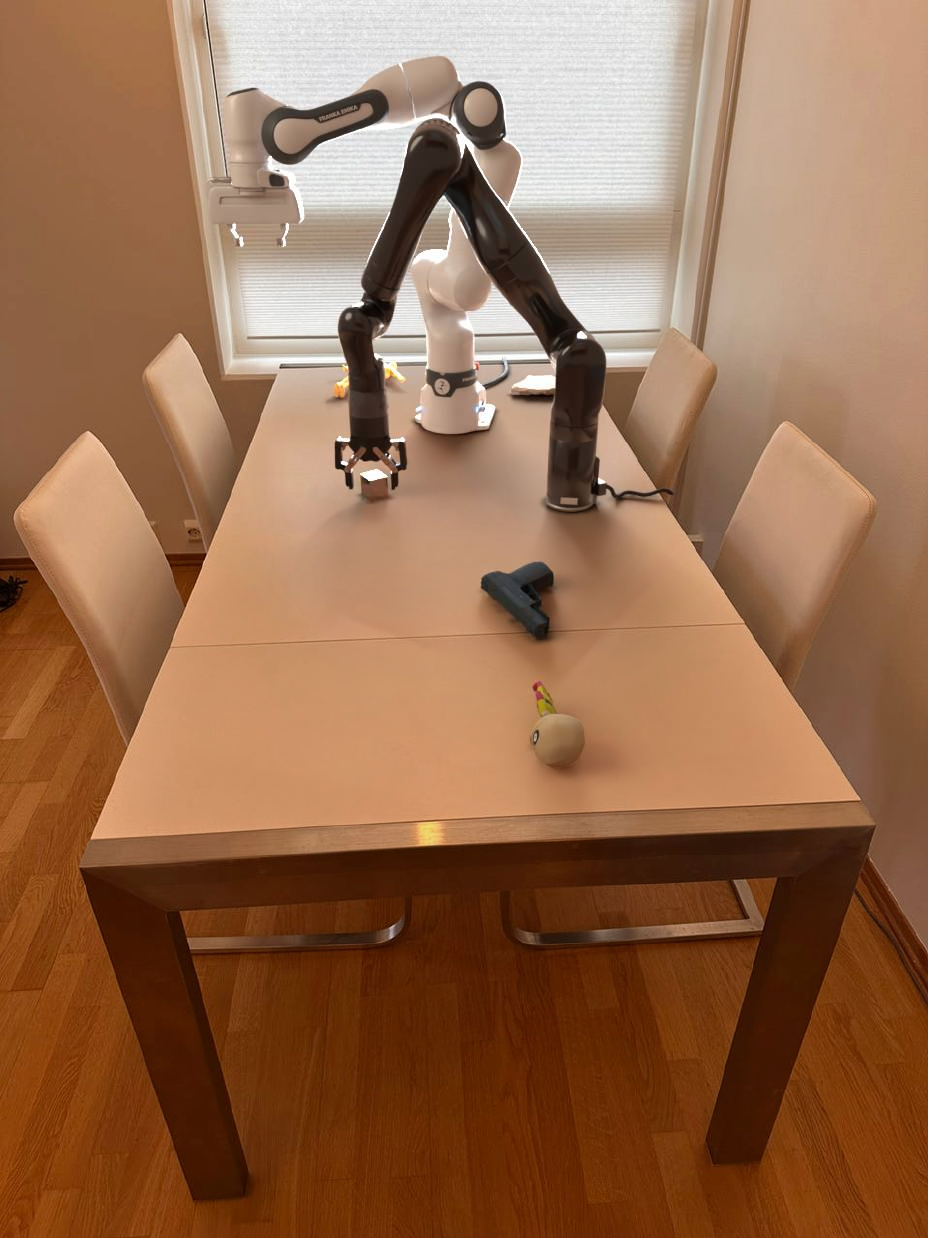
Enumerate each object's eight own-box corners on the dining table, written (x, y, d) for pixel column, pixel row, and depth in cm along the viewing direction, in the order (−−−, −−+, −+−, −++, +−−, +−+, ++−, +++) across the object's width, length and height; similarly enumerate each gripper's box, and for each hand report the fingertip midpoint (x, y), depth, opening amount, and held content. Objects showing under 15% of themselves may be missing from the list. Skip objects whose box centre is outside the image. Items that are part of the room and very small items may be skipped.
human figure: (402, 372, 253) (401, 358, 251) (409, 392, 236) (408, 377, 234) (333, 377, 251) (331, 363, 249) (335, 398, 234) (333, 382, 232)
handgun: (595, 623, 140) (530, 643, 135) (537, 573, 153) (475, 590, 148) (597, 606, 138) (530, 625, 134) (538, 557, 151) (476, 573, 147)
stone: (553, 399, 232) (554, 389, 231) (509, 395, 235) (509, 385, 234) (564, 385, 243) (564, 375, 241) (521, 381, 246) (522, 372, 244)
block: (371, 502, 179) (369, 480, 177) (361, 494, 182) (359, 473, 180) (388, 497, 181) (387, 476, 178) (378, 490, 184) (377, 469, 181)
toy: (510, 684, 120) (525, 756, 108) (557, 660, 119) (578, 730, 106) (530, 713, 123) (547, 787, 110) (577, 690, 122) (599, 762, 109)
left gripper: (199, 178, 188) (209, 248, 195) (296, 177, 187) (302, 248, 194) (207, 174, 193) (217, 243, 200) (301, 174, 193) (307, 243, 200)
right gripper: (328, 416, 168) (334, 495, 177) (404, 417, 168) (406, 496, 177) (334, 403, 175) (339, 480, 183) (406, 404, 175) (409, 481, 183)
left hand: (260, 245), depth 197 cm, fingers open, 8 cm apart
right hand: (372, 488), depth 180 cm, fingers open, 8 cm apart
